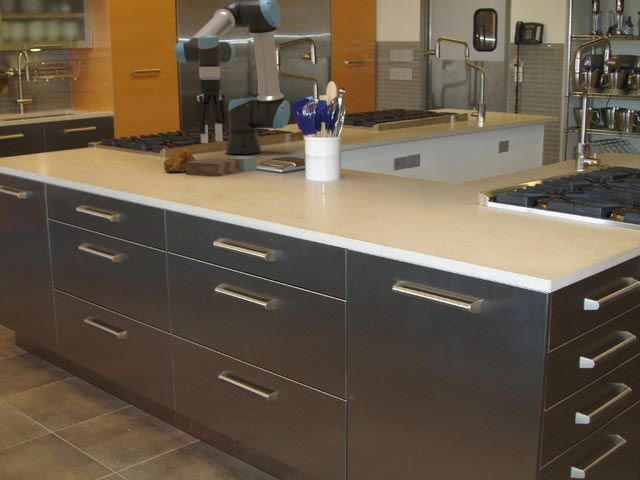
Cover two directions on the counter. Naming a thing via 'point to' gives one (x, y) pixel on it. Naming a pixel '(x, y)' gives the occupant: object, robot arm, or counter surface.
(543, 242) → the counter surface
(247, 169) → the teal block
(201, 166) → the walnut block
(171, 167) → the rock
